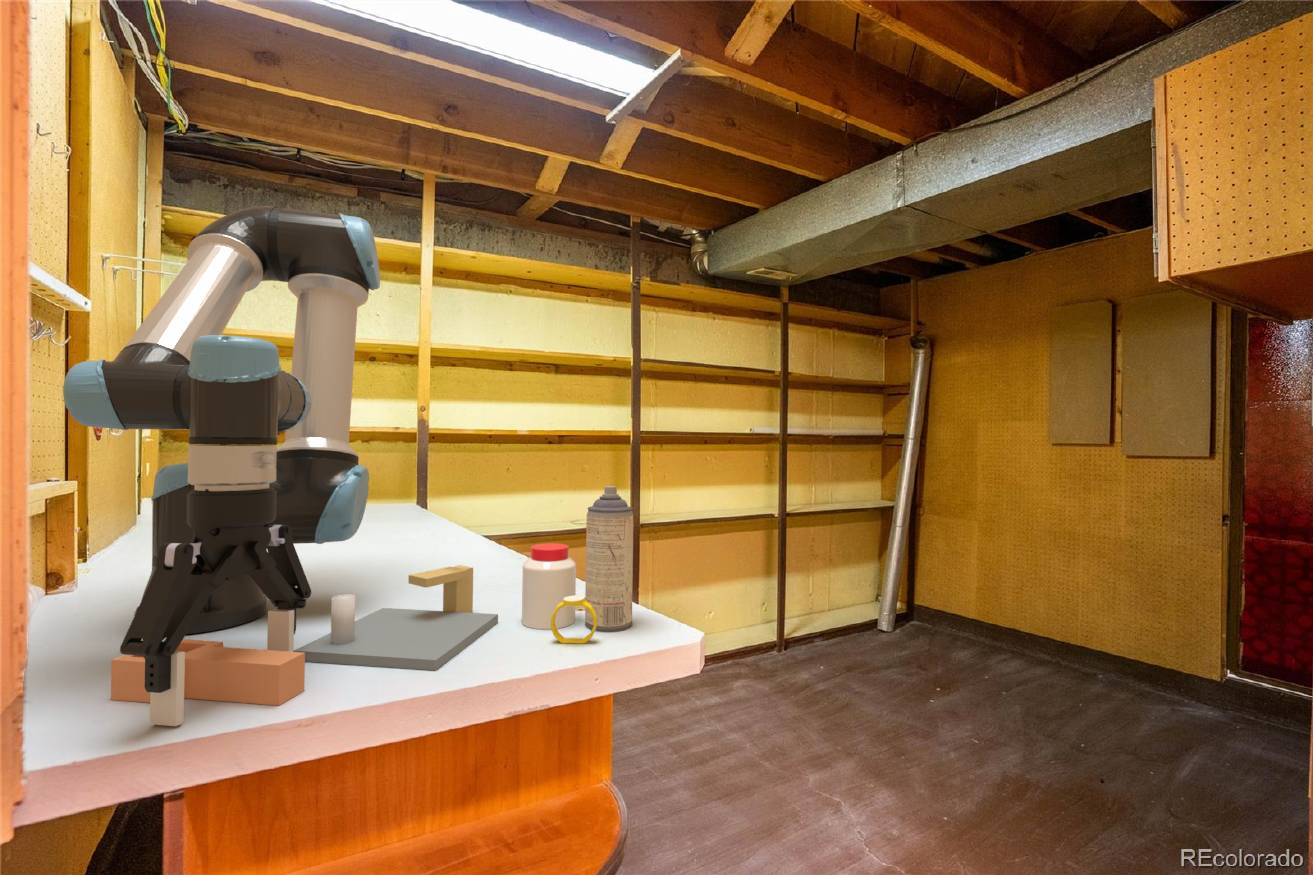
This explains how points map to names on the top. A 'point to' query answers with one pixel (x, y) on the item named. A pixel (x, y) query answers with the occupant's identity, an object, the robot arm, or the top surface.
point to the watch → (573, 602)
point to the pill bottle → (548, 586)
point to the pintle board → (405, 628)
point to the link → (219, 674)
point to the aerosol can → (609, 562)
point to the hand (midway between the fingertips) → (229, 692)
